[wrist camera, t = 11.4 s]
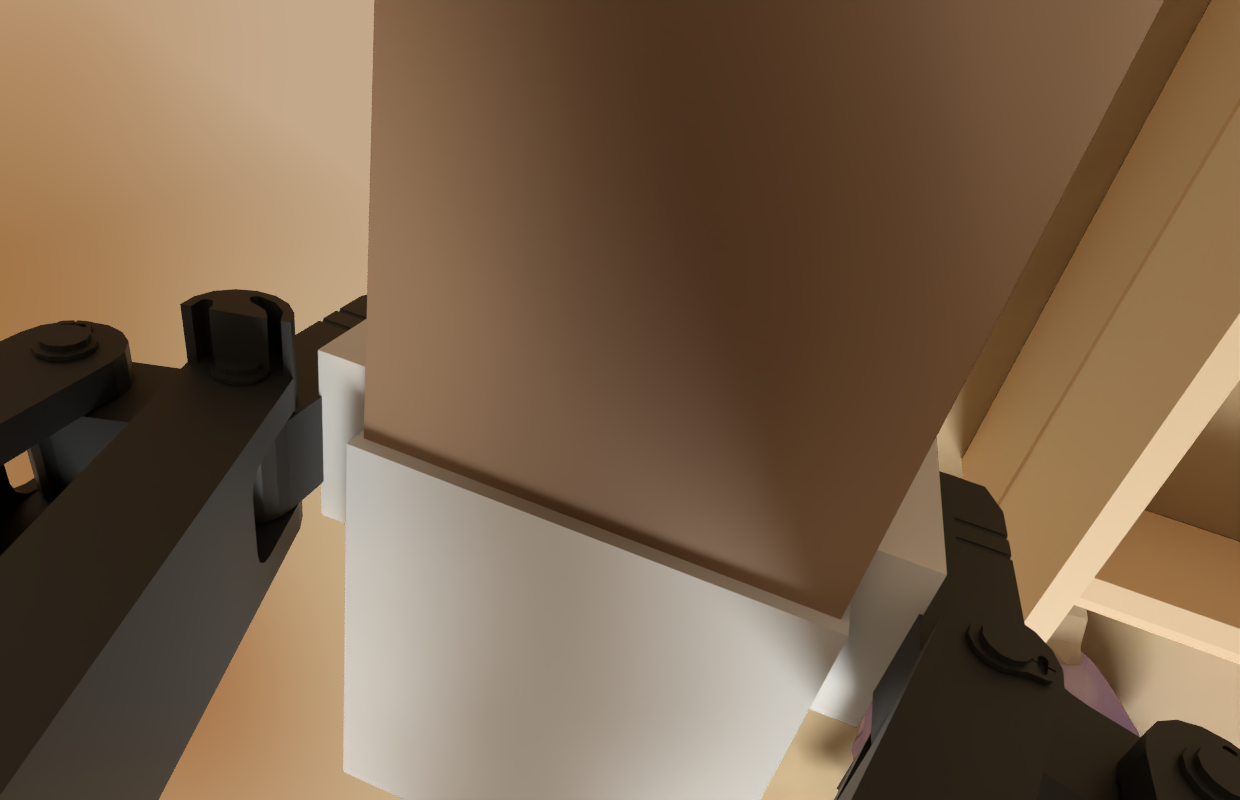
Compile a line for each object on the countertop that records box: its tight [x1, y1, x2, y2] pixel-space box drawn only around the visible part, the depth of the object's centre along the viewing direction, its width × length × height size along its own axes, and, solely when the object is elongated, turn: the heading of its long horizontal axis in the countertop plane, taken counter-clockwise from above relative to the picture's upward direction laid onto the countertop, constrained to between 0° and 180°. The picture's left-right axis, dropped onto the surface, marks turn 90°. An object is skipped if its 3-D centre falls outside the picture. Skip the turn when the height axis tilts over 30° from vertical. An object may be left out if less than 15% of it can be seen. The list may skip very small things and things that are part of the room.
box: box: [343, 0, 1164, 800], centre depth 11 cm, size 6×18×7 cm, turn 168°
